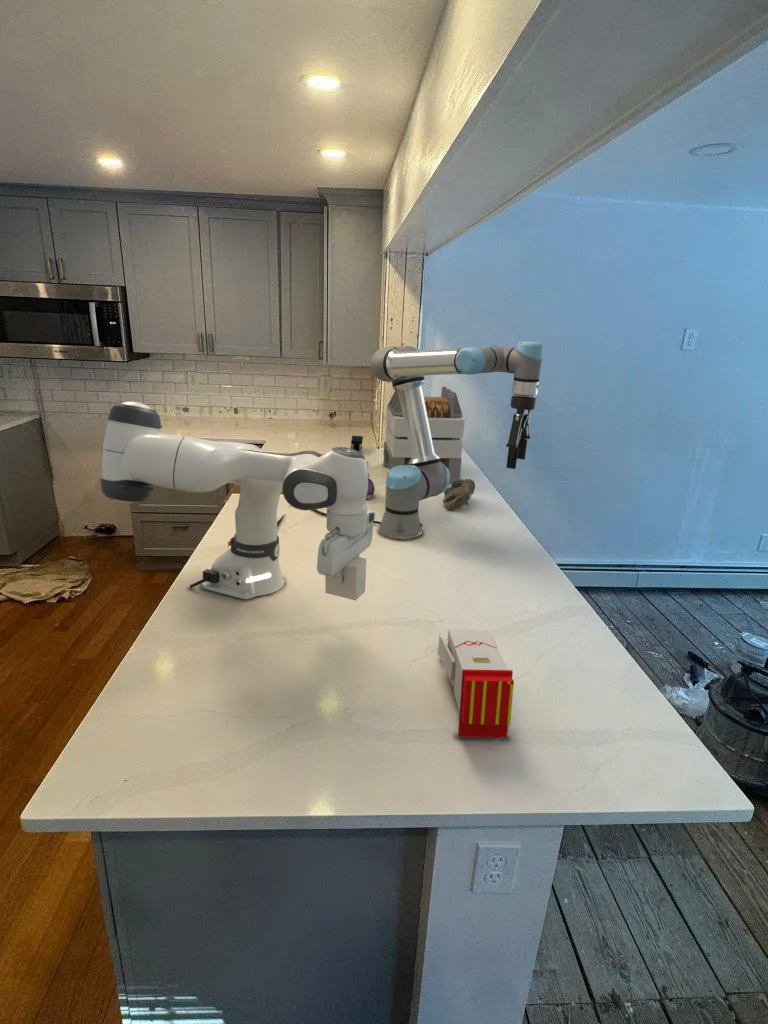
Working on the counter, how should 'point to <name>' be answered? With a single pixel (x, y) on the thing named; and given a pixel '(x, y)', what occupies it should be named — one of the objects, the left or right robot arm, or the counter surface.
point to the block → (349, 580)
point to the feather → (279, 521)
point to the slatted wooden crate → (442, 427)
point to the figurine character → (356, 443)
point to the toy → (478, 682)
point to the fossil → (458, 494)
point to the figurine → (370, 487)
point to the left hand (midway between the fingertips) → (345, 578)
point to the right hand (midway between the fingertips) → (515, 463)
